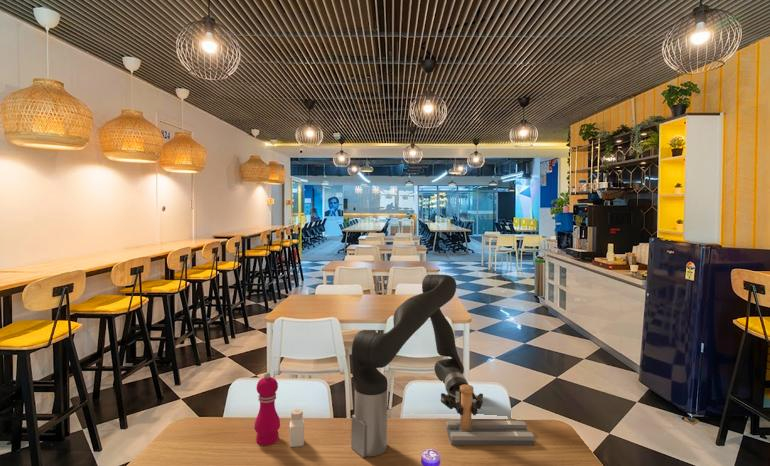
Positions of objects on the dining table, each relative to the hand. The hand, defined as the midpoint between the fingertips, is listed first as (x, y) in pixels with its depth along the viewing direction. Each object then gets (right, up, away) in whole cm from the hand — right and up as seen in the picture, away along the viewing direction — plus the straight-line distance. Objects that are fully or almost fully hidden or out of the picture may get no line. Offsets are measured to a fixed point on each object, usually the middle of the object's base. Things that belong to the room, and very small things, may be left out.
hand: (468, 412), depth 125 cm
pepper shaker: (-50, -9, -1) cm, 50 cm away
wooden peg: (0, -7, +3) cm, 8 cm away
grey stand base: (+7, -9, +4) cm, 12 cm away
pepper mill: (-59, -8, +1) cm, 59 cm away
